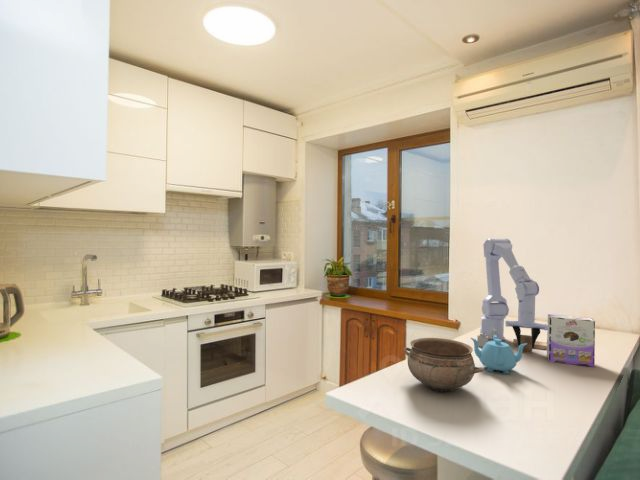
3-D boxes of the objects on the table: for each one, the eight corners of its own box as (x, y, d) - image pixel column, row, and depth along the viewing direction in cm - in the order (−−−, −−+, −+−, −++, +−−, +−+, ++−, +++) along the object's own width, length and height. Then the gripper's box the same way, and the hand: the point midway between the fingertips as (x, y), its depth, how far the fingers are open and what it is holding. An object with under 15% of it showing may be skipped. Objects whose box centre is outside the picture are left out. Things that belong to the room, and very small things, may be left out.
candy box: (590, 362, 135) (591, 317, 135) (594, 367, 130) (596, 320, 130) (546, 356, 141) (547, 313, 141) (548, 361, 136) (549, 316, 136)
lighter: (477, 345, 154) (477, 326, 154) (478, 345, 155) (479, 325, 155) (495, 349, 149) (495, 329, 149) (496, 348, 150) (497, 329, 150)
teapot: (499, 378, 118) (499, 346, 118) (467, 365, 130) (467, 336, 130) (527, 373, 123) (528, 342, 123) (494, 360, 136) (494, 332, 135)
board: (515, 346, 154) (515, 342, 154) (513, 342, 160) (513, 338, 160) (557, 350, 149) (557, 346, 149) (554, 346, 155) (554, 343, 154)
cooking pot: (386, 383, 113) (386, 342, 113) (419, 368, 126) (420, 332, 126) (467, 412, 95) (468, 364, 95) (496, 391, 108) (497, 349, 108)
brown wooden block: (520, 351, 147) (520, 336, 147) (517, 345, 155) (517, 331, 155) (531, 352, 146) (532, 337, 145) (528, 347, 153) (528, 332, 153)
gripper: (507, 312, 146) (506, 346, 147) (549, 315, 141) (548, 351, 141) (505, 308, 153) (504, 342, 153) (546, 312, 148) (545, 346, 148)
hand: (525, 346), depth 148 cm, fingers closed on brown wooden block, 4 cm apart
